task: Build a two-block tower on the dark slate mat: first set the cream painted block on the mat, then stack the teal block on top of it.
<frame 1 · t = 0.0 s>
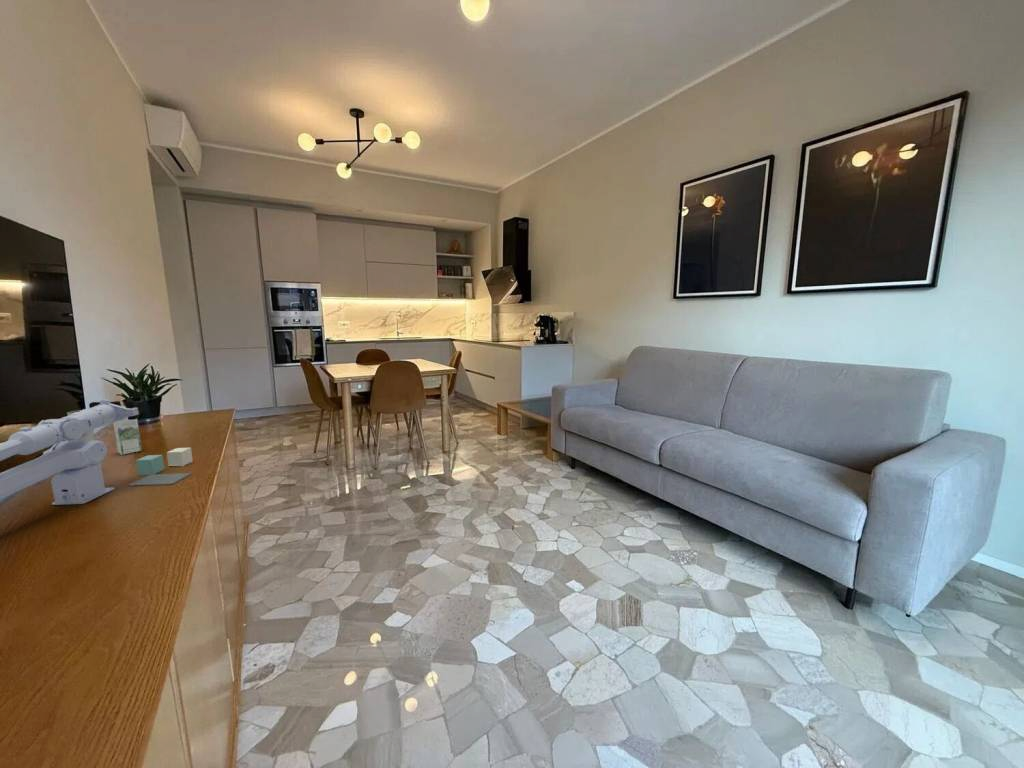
hand: (132, 404, 128), 22 cm above the table, tool horizontal, fingers open, 7 cm apart
plastic bottle: (87, 474, 130), on the table
cream block: (181, 464, 137), on the table
teal block: (151, 472, 130), on the table
syrup box: (130, 452, 150), on the table
slate mat: (161, 480, 124), on the table
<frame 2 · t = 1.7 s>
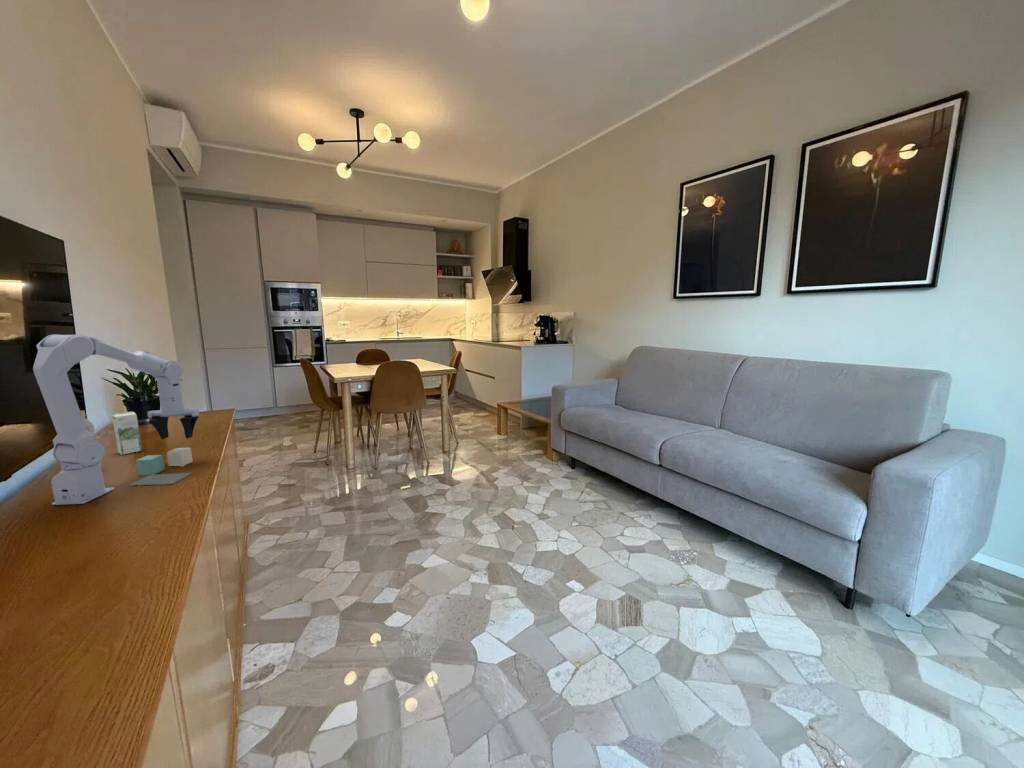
hand: (177, 437, 136), 9 cm above the table, tool pointing down, fingers open, 7 cm apart
nothing on the table moved.
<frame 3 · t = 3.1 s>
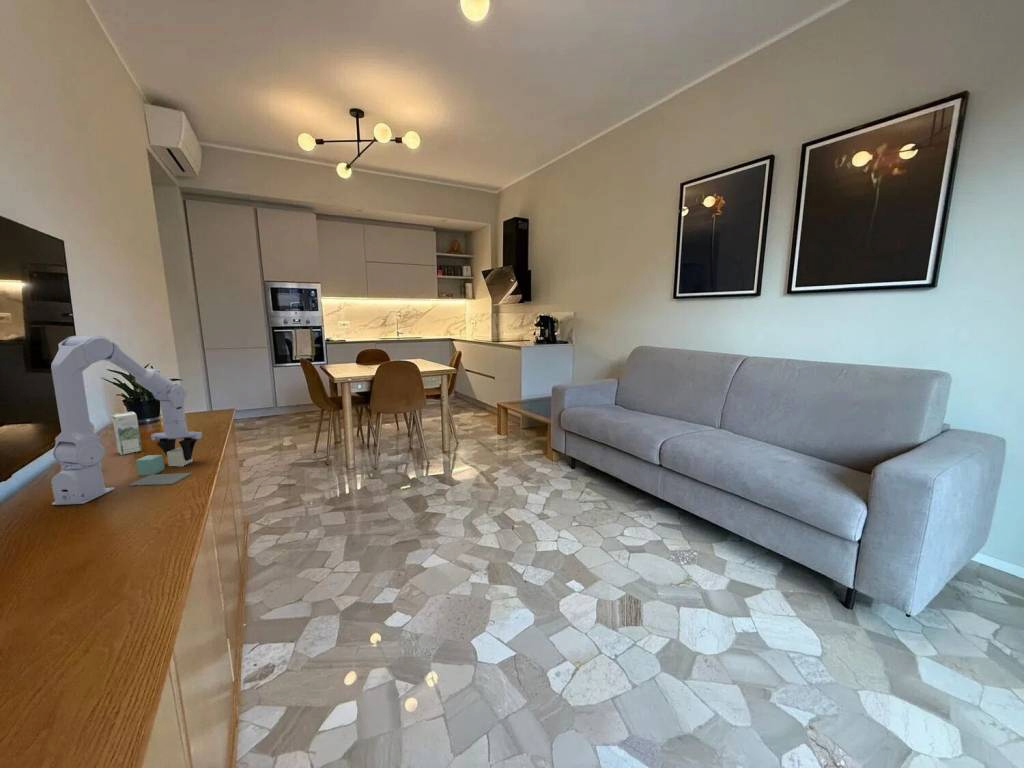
hand: (180, 459, 137), 1 cm above the table, tool pointing down, fingers closed on cream block, 4 cm apart
cream block: (181, 464, 137), on the table, touching gripper
everything else where it was.
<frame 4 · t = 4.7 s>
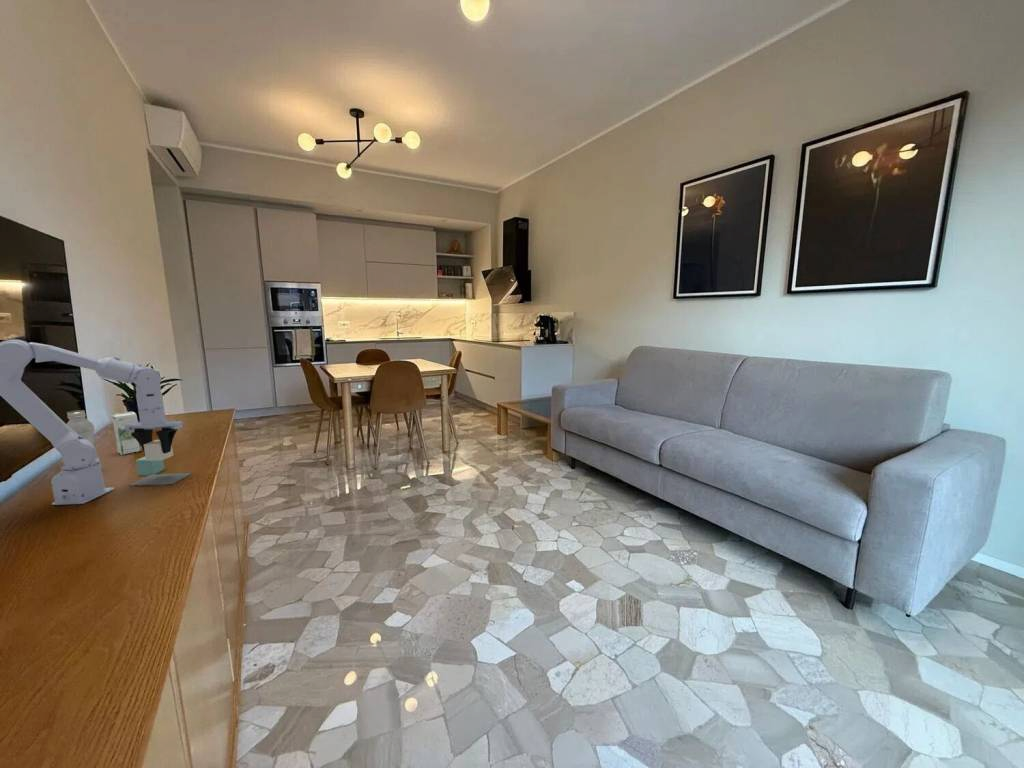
hand: (158, 452, 123), 8 cm above the table, tool pointing down, fingers closed on cream block, 4 cm apart
cream block: (160, 458, 124), point 7 cm above the table, touching gripper
everything else where it was.
when the fingers open (2 cm above the table, at t = 6.5 s): cream block stays where it is, resting on slate mat.
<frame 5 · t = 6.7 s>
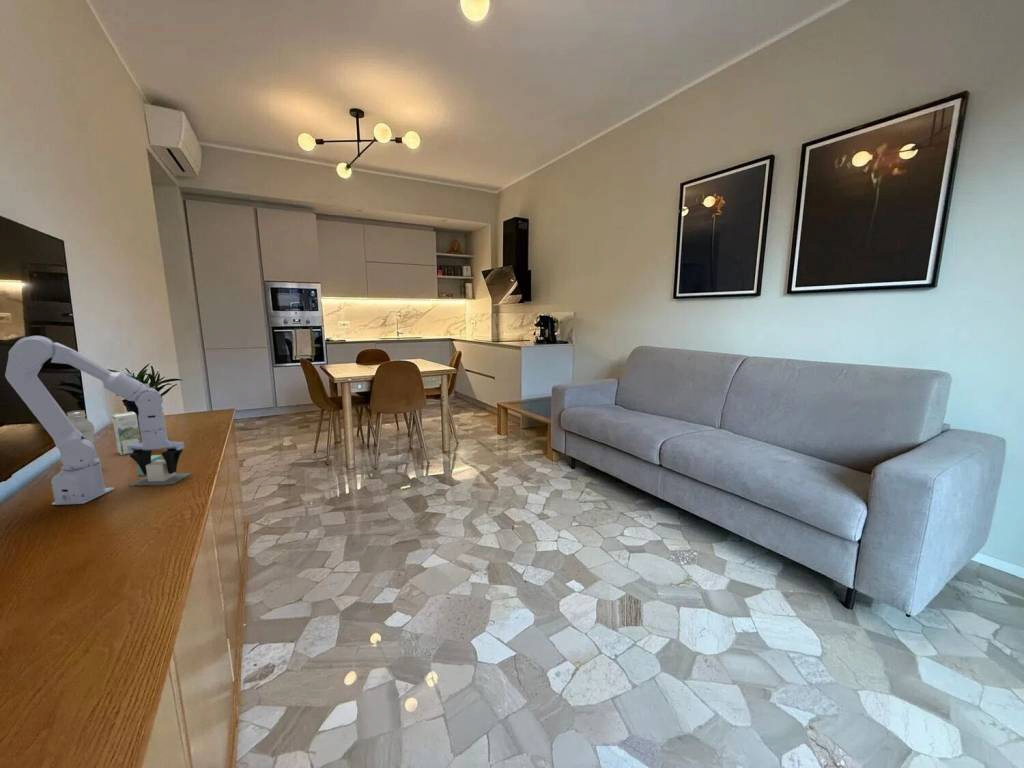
hand: (160, 473, 123), 2 cm above the table, tool pointing down, fingers open, 6 cm apart
cream block: (162, 478, 124), resting on slate mat
everything else where it was.
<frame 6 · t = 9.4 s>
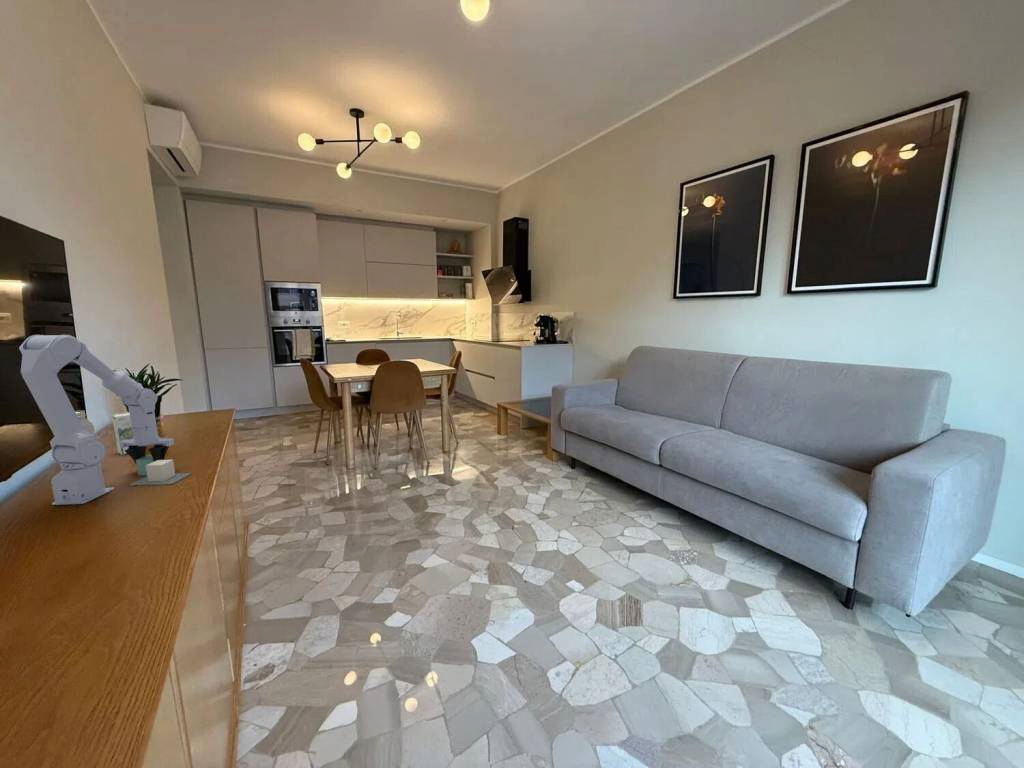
hand: (151, 468, 130), 1 cm above the table, tool pointing down, fingers closed on teal block, 4 cm apart
teal block: (151, 472, 130), on the table, touching gripper
everything else where it was.
when the fingers open (8 cm above the table, at t = 12.1 s): teal block stays where it is, resting on cream block.
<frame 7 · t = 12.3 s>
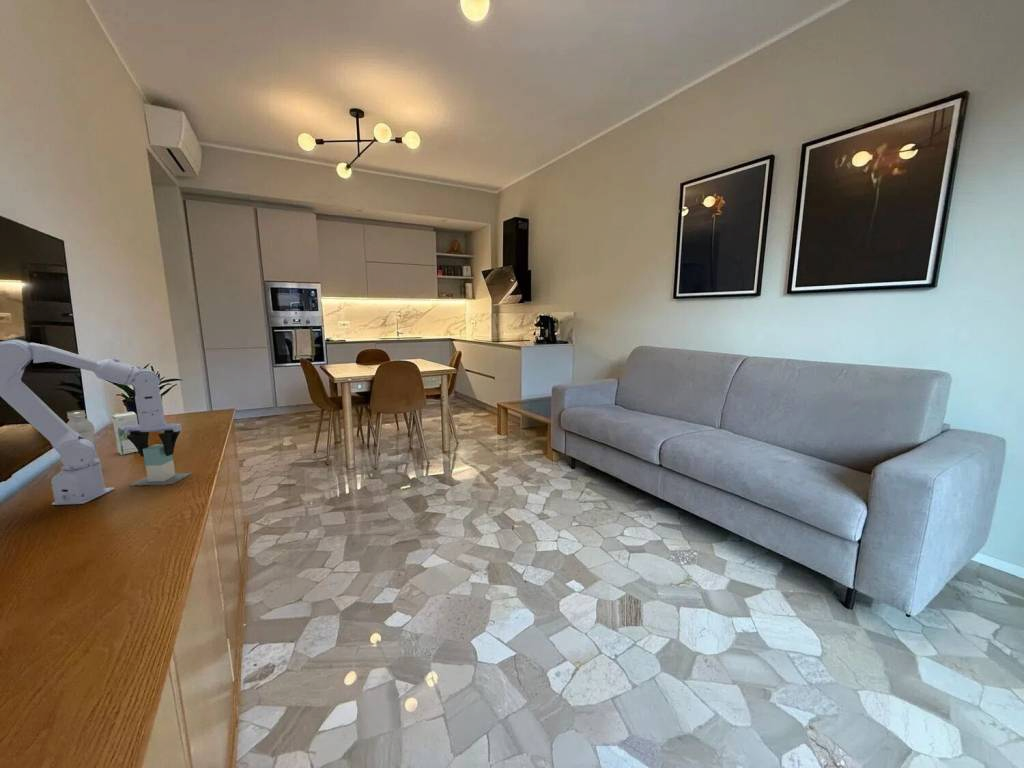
hand: (157, 455, 123), 8 cm above the table, tool pointing down, fingers open, 6 cm apart
cream block: (162, 478, 124), resting on slate mat, touching teal block
teal block: (159, 462, 123), point 5 cm above the table, touching cream block
everything else where it was.
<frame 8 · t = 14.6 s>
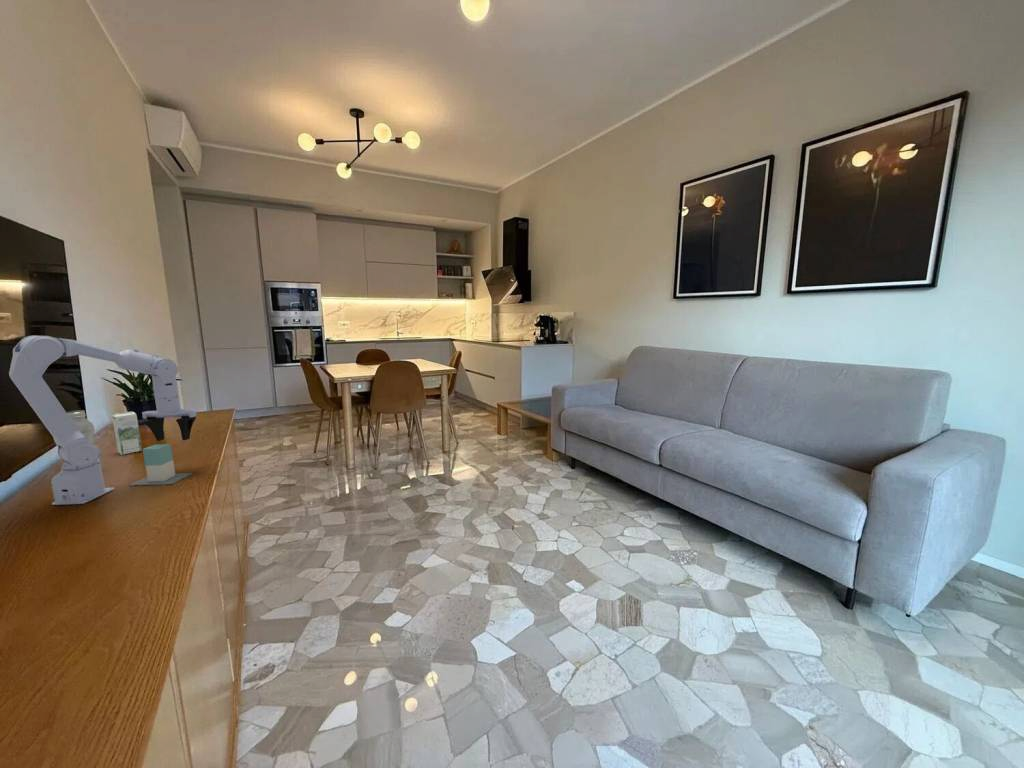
hand: (173, 439, 129), 10 cm above the table, tool pointing down, fingers open, 7 cm apart
nothing on the table moved.
at the end: cream block inside the target area on the slate mat (0.4 cm from its centre), point 0.4 cm above the slate mat's base; teal block 0.2 cm off-centre on the cream block, point 5.0 cm above the cream block's base; teal block tilted 0° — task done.
